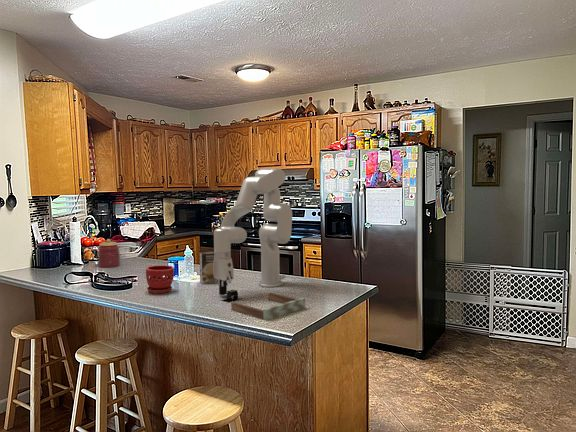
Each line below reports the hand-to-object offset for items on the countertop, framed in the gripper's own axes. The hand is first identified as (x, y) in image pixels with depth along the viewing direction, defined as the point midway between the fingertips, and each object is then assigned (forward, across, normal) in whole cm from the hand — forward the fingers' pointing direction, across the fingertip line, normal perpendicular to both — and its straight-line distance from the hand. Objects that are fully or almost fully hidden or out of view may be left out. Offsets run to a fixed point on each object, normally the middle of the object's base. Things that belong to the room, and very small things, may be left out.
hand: (223, 294), depth 200 cm
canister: (+1, +116, +1) cm, 116 cm away
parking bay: (+1, -29, 0) cm, 29 cm away
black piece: (+2, -7, 0) cm, 7 cm away
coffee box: (+1, +29, -14) cm, 32 cm away
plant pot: (+1, +31, +14) cm, 34 cm away
